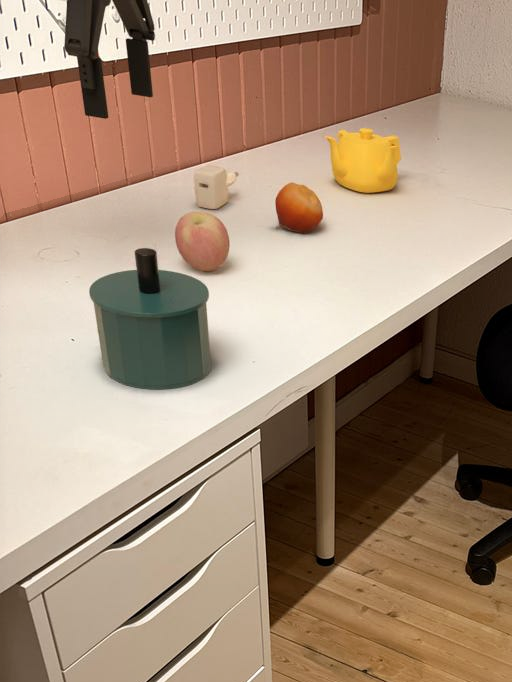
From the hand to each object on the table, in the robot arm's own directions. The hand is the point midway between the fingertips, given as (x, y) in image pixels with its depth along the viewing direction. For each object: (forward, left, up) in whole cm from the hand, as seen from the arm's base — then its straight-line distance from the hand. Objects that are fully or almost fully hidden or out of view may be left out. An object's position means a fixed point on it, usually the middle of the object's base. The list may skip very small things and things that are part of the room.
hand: (120, 105), depth 125 cm
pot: (+29, -9, -22) cm, 38 cm away
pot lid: (+29, -9, -13) cm, 33 cm away
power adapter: (-28, +24, -22) cm, 43 cm away
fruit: (-11, +31, -22) cm, 40 cm away
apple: (+1, +9, -22) cm, 24 cm away
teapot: (-29, +54, -22) cm, 65 cm away
